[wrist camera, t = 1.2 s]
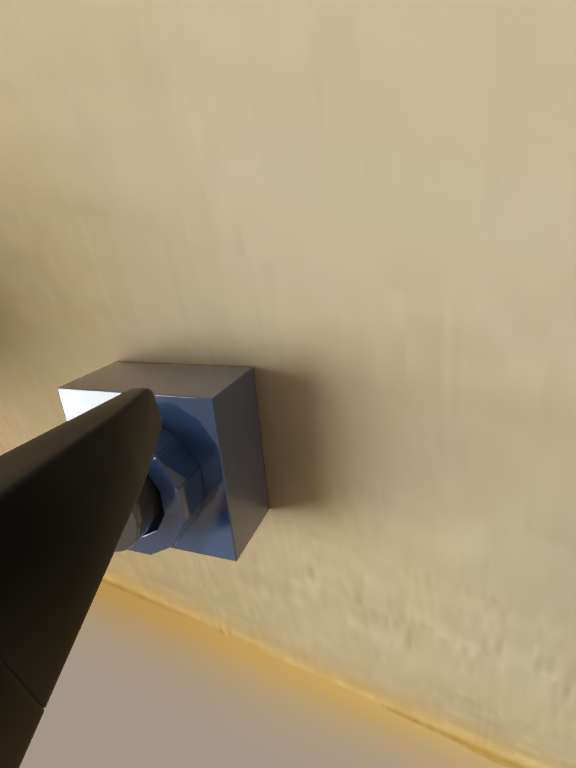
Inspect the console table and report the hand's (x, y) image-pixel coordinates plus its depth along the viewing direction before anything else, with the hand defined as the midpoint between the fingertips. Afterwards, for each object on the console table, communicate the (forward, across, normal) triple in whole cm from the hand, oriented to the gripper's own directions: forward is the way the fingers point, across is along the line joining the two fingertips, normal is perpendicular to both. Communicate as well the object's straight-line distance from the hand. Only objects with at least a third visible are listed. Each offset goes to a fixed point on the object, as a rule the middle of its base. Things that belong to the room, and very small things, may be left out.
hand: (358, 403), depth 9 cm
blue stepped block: (+14, +11, +12) cm, 22 cm away
